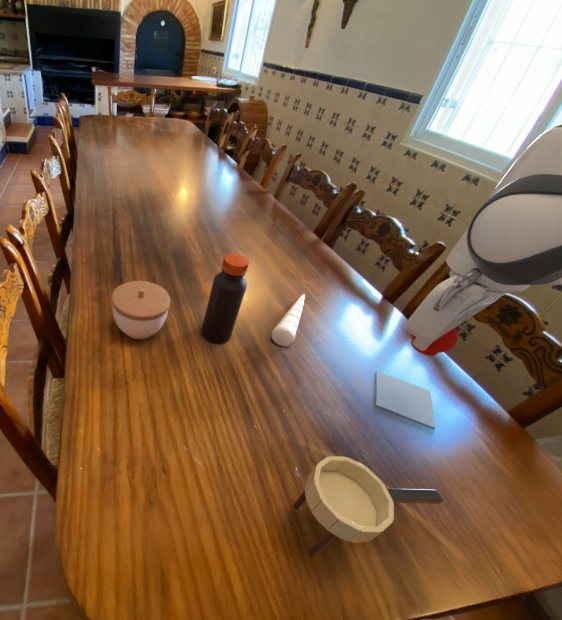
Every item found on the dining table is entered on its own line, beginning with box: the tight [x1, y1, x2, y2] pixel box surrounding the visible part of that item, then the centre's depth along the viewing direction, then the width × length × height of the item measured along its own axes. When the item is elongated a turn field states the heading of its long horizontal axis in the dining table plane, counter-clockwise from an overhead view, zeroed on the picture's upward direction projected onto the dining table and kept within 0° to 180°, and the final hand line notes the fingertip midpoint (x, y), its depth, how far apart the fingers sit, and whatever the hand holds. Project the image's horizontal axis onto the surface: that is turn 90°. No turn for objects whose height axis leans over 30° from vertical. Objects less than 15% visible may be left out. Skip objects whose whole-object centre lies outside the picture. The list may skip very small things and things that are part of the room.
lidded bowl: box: [111, 280, 171, 340], centre depth 79 cm, size 13×13×11 cm
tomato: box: [410, 327, 459, 357], centre depth 54 cm, size 5×5×6 cm
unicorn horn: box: [271, 293, 306, 347], centre depth 87 cm, size 5×24×5 cm, turn 143°
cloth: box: [375, 370, 436, 430], centre depth 71 cm, size 10×10×1 cm
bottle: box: [201, 253, 250, 344], centre depth 76 cm, size 7×7×20 cm
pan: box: [292, 455, 444, 558], centre depth 48 cm, size 16×9×12 cm, turn 91°
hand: (430, 339), depth 54 cm, fingers closed on tomato, 5 cm apart
